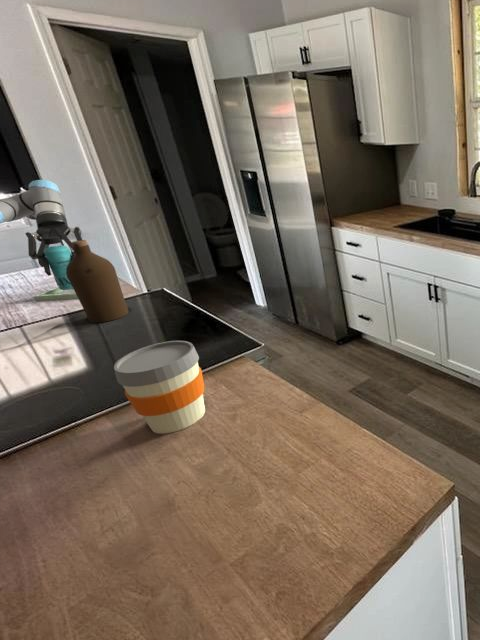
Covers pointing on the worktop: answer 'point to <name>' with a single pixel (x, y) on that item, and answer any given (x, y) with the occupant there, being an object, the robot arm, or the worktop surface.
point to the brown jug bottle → (96, 285)
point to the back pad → (49, 295)
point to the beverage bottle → (58, 261)
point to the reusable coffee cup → (164, 384)
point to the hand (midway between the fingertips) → (62, 271)
